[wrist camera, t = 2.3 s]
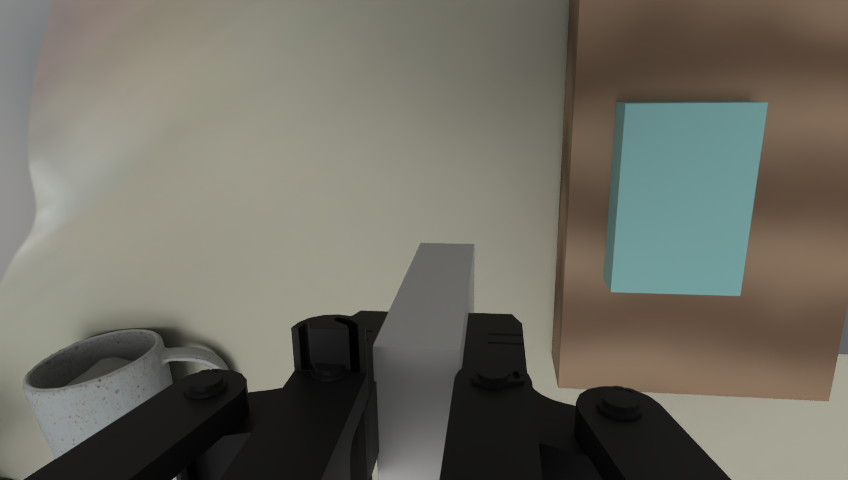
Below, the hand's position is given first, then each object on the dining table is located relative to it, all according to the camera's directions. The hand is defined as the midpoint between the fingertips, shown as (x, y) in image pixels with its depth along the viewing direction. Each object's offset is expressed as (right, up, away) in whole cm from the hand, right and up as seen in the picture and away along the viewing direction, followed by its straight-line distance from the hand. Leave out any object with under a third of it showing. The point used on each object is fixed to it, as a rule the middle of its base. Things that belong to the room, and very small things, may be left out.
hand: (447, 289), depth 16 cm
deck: (+14, +5, +16) cm, 22 cm away
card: (+12, +4, +12) cm, 17 cm away
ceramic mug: (-19, -8, +24) cm, 31 cm away
